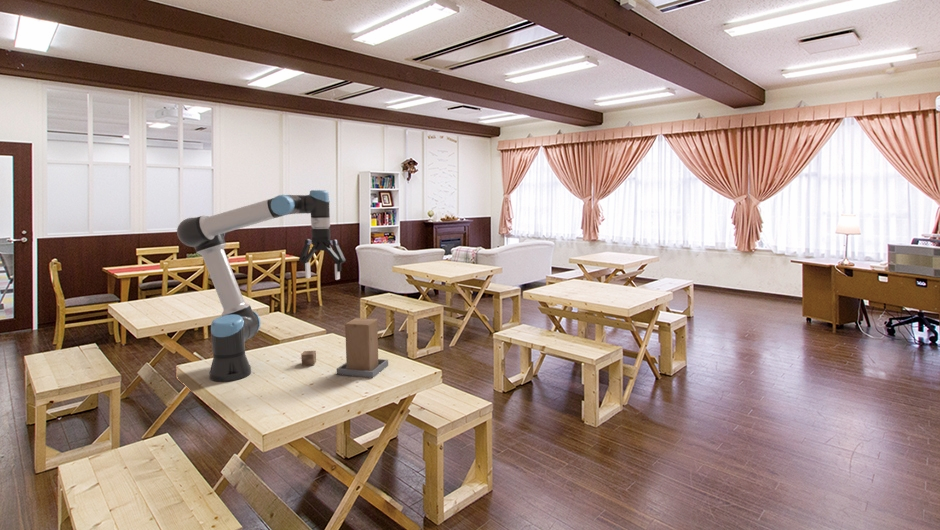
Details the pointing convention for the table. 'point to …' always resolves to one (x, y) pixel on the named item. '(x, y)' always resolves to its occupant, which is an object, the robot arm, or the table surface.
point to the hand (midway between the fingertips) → (322, 278)
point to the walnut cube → (308, 358)
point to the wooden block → (361, 344)
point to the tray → (361, 373)
